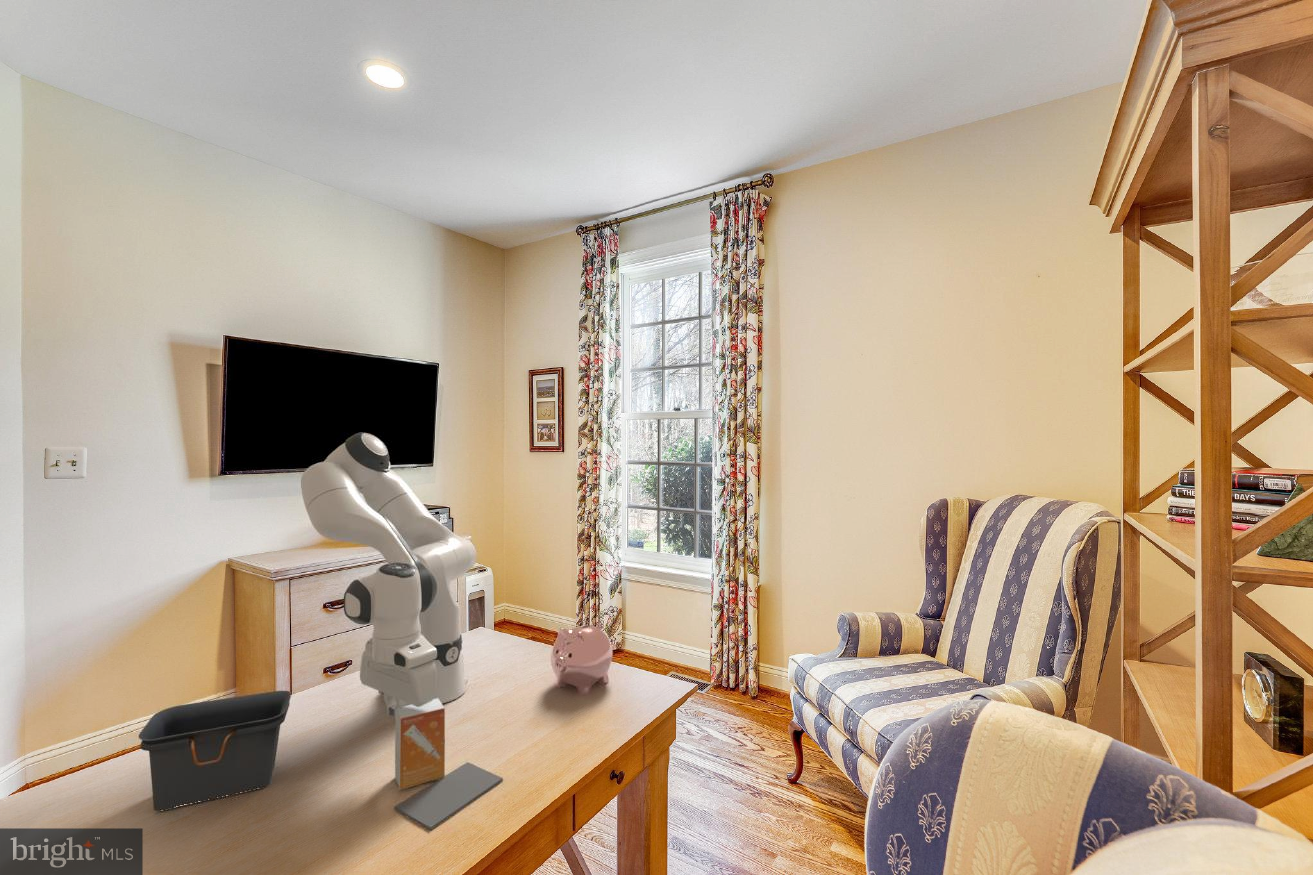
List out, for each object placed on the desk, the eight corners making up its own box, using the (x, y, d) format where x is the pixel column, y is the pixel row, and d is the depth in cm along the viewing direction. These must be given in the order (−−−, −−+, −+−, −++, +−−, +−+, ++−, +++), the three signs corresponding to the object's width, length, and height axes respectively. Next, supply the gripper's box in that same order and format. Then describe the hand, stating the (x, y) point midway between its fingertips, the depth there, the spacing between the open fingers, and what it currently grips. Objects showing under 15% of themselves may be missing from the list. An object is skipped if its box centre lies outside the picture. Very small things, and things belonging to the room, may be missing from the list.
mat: (394, 809, 97) (394, 806, 97) (467, 764, 111) (467, 761, 111) (430, 830, 92) (430, 827, 92) (502, 780, 105) (502, 777, 105)
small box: (399, 791, 101) (399, 718, 102) (394, 776, 106) (394, 707, 107) (445, 777, 105) (445, 707, 106) (438, 763, 111) (438, 697, 112)
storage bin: (291, 755, 113) (293, 685, 113) (282, 798, 100) (284, 719, 100) (156, 784, 103) (158, 708, 103) (125, 837, 89) (127, 749, 90)
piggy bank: (535, 690, 144) (536, 629, 144) (579, 666, 159) (580, 611, 160) (581, 705, 136) (582, 640, 136) (623, 679, 151) (623, 621, 152)
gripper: (351, 640, 113) (350, 708, 112) (414, 662, 102) (412, 737, 102) (381, 631, 118) (379, 696, 118) (442, 651, 107) (441, 722, 107)
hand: (395, 715), depth 110 cm, fingers closed
